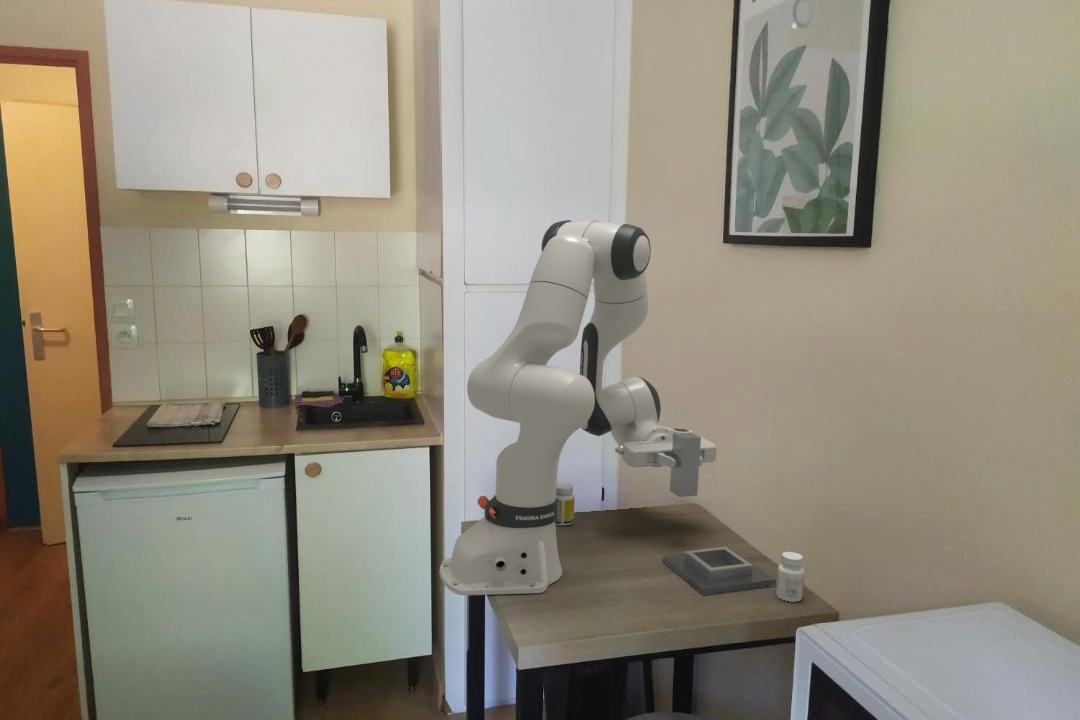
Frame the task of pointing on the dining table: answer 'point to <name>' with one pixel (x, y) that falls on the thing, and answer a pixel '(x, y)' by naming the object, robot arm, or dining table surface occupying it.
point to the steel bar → (685, 464)
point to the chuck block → (717, 570)
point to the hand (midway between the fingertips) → (687, 463)
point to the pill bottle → (790, 577)
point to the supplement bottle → (565, 503)
